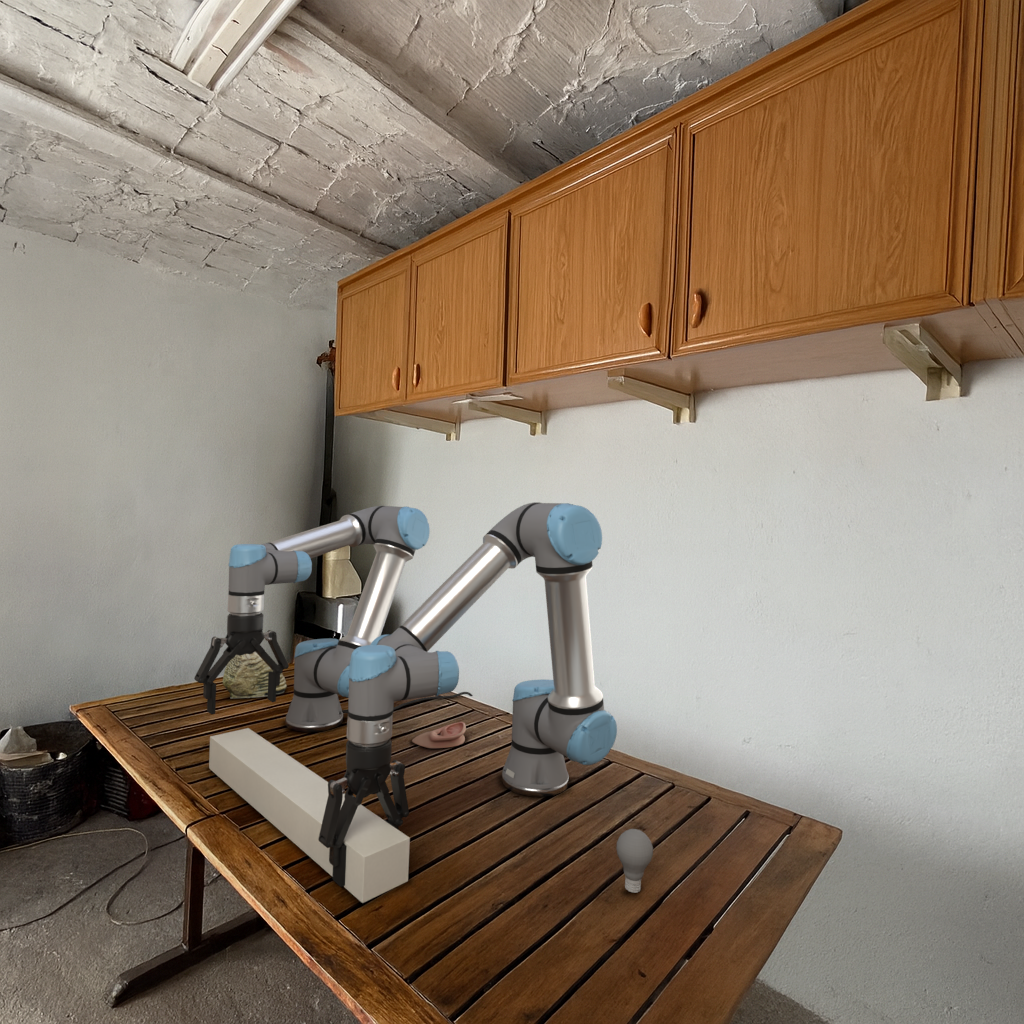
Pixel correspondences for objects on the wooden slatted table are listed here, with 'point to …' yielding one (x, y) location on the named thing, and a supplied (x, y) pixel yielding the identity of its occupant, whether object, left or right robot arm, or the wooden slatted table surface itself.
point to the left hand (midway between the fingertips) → (242, 706)
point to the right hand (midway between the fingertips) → (363, 871)
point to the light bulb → (634, 857)
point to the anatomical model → (442, 736)
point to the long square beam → (309, 811)
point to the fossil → (249, 677)
